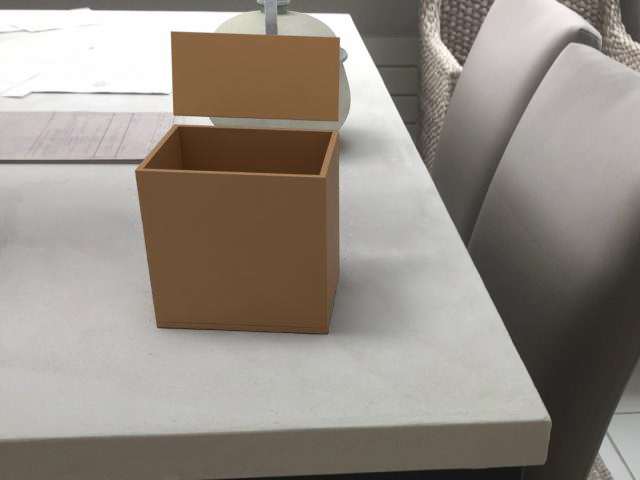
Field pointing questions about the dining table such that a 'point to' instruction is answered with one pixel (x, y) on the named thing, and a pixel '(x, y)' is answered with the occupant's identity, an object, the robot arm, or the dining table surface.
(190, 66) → the flap
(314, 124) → the kettle
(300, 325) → the carton
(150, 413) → the dining table surface
